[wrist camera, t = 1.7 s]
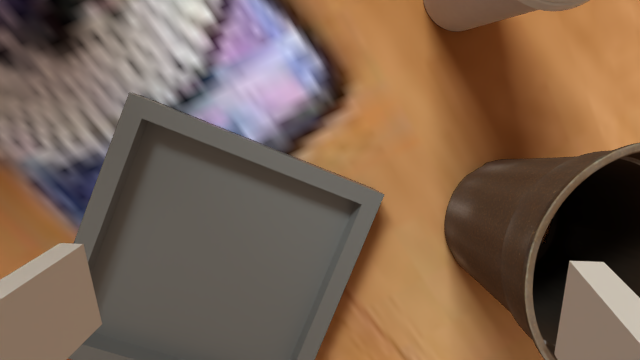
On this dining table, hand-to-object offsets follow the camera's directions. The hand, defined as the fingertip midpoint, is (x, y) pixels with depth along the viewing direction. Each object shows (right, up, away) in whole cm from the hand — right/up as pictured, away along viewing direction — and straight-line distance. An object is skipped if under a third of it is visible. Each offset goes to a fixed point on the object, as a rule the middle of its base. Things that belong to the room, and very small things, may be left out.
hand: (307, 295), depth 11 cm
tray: (-9, -4, +26) cm, 28 cm away
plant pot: (+18, -1, +30) cm, 35 cm away
